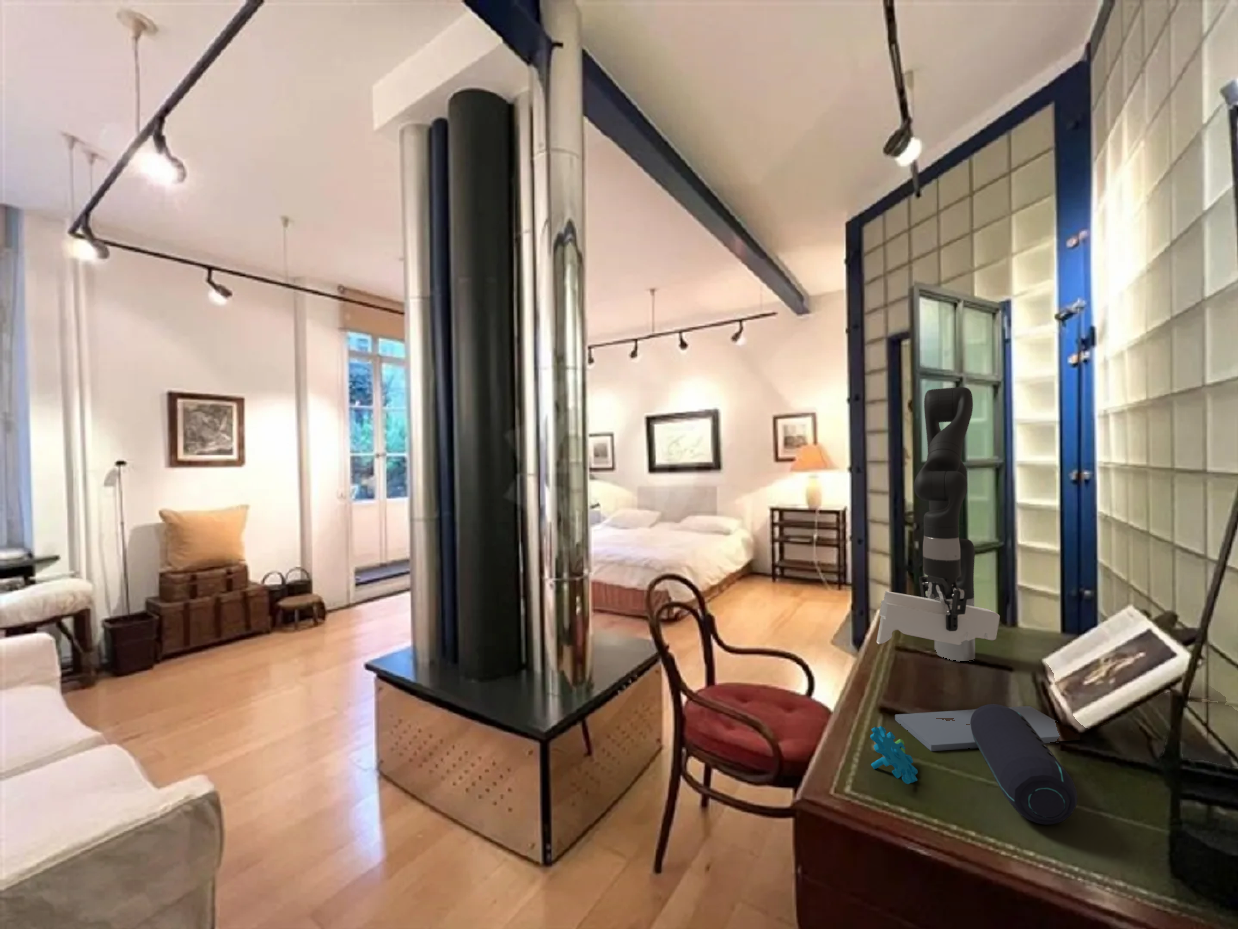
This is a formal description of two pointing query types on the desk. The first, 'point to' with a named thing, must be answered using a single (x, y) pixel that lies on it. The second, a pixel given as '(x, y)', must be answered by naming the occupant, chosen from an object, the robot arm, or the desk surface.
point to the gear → (893, 755)
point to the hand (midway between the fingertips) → (942, 625)
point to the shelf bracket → (933, 620)
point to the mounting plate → (965, 727)
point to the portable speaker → (1023, 765)
